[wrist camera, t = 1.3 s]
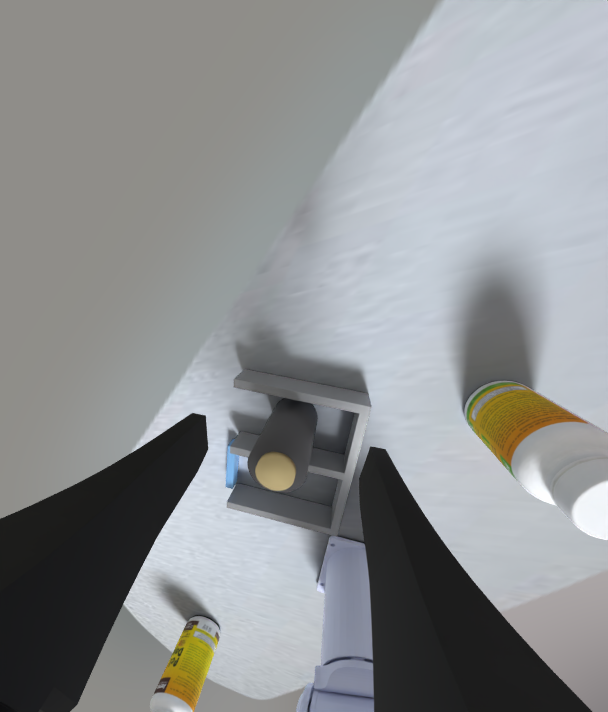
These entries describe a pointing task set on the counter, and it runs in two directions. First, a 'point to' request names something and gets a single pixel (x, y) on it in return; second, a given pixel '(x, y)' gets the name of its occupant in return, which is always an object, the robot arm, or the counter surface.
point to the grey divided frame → (320, 460)
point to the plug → (284, 447)
